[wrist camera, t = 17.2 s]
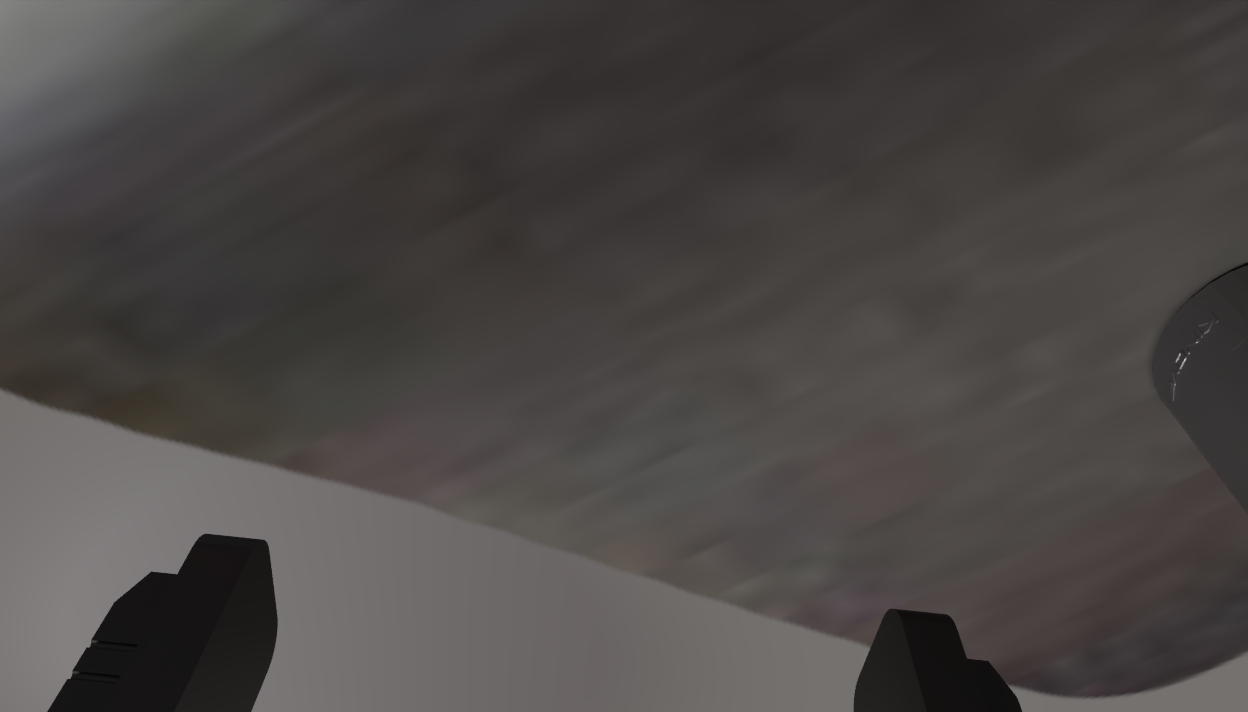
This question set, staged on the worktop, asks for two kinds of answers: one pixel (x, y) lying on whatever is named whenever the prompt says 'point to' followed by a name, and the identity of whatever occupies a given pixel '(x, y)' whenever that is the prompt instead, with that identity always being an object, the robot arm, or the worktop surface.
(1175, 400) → the robot arm
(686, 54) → the worktop surface
